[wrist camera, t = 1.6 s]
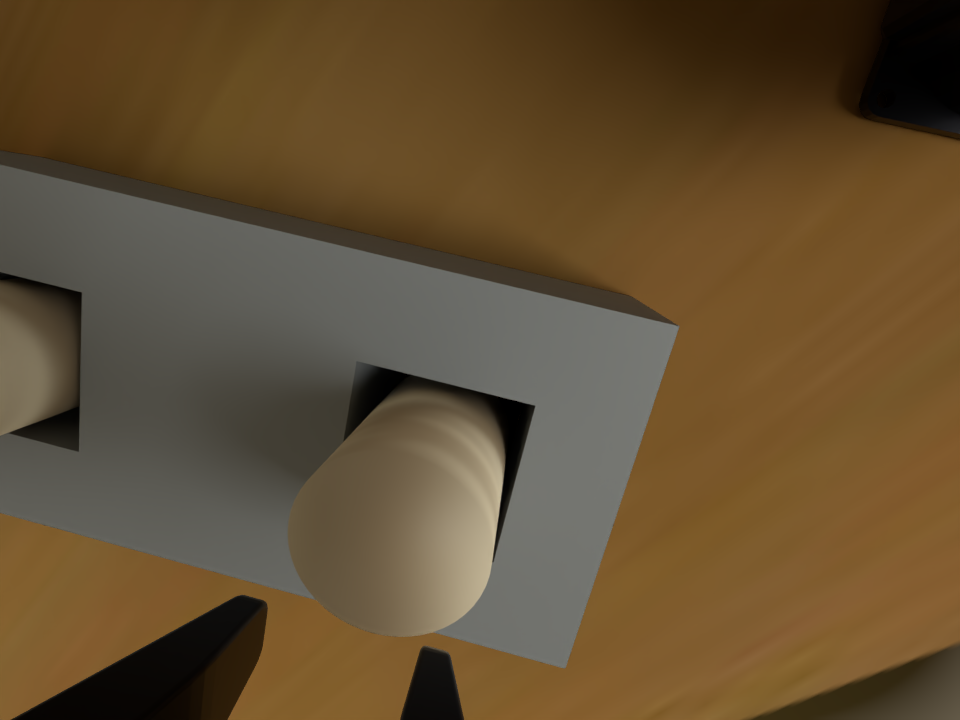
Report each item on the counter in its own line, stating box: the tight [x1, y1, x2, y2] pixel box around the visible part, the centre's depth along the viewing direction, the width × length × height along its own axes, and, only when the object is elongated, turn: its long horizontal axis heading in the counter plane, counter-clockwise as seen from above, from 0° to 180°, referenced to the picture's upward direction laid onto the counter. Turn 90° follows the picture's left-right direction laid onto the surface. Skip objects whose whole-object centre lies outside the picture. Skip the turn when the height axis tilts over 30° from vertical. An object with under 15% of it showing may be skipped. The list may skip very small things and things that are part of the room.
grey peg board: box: [0, 151, 679, 668], centre depth 16 cm, size 22×10×6 cm, turn 77°
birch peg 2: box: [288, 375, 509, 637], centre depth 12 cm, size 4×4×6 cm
